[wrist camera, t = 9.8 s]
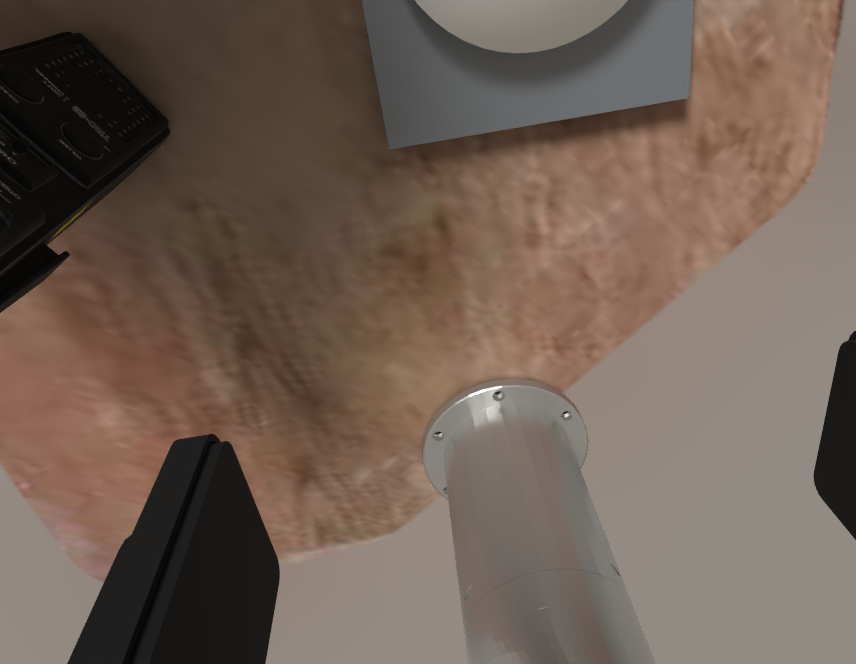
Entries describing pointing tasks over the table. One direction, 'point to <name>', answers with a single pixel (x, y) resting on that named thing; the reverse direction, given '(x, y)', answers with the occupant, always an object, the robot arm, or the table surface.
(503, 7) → the white round dome
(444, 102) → the stand
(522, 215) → the table surface
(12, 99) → the portable radio
